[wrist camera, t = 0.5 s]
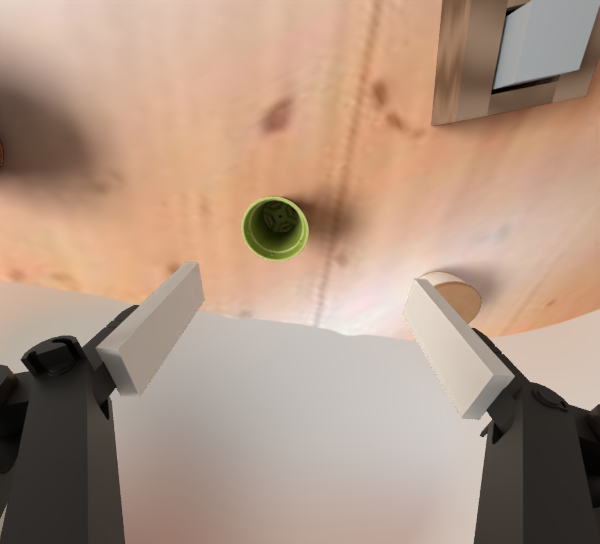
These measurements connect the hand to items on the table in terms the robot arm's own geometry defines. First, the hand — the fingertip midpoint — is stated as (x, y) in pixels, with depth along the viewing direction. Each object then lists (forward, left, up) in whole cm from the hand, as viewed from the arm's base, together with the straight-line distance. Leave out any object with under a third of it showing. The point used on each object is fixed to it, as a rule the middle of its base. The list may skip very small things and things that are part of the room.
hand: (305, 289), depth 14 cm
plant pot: (+2, -5, -27) cm, 28 cm away
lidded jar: (+21, +21, -27) cm, 40 cm away
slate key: (-13, +26, -23) cm, 37 cm away
